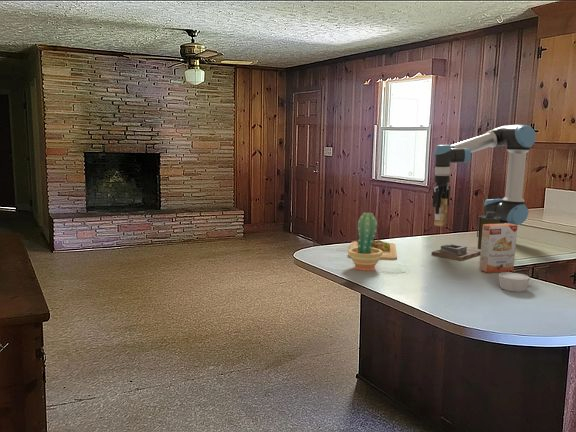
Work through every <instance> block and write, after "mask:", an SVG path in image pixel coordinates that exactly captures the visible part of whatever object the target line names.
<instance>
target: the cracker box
mask: <svg viewBox="0 0 576 432" xmlns="http://www.w3.org/2000/svg"><path fill="white" fill-rule="evenodd" d="M517 235H518V225H514V224H510V223H505V224H483V229H482V241H481V254H480V255H479V256H480V257H479V267H478V268H479V271H481V272H484V273H490V274H491V273H507V272H514V269H515V258H516V257H515V256H516V247H517Z"/></svg>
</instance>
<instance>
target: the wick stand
mask: <svg viewBox="0 0 576 432" xmlns="http://www.w3.org/2000/svg"><path fill="white" fill-rule="evenodd" d="M480 254H481V249H477V248H475V247H470V246H466V245H464V246H463V245H459V244H453V243H449V244H444V245H441V246H440V249H436V250H433V251H431V256H437V257H442V258H447V259H452V260H457V261H464V260H467V259H470V258H473V257H477V256H480Z"/></svg>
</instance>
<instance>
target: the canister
mask: <svg viewBox="0 0 576 432" xmlns="http://www.w3.org/2000/svg"><path fill="white" fill-rule="evenodd" d="M494 213H495V212H486V216H483V215H478V216H477V228H476V237H477V238H478V240H477V248H476V249H481V241H482V229H483V224H500V219H501V218H500V217H497V216H494ZM495 214H496V213H495Z"/></svg>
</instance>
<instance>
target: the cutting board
mask: <svg viewBox="0 0 576 432" xmlns="http://www.w3.org/2000/svg"><path fill="white" fill-rule="evenodd" d="M358 243H359V239H358V240H355V241H354V240H353V241H351V243H350V247H349V249H351V248H356V247H358ZM371 248H376V249H380V250H382V251H383V253H382V255H381V256H380V258H379V260H382V261H383V260H386V261H394V260H397V259H398V256H397V255H398V253H397V246H396V243H394V242H385V241H382V240H380V239H378V240H374V239H373V243H372V247H371ZM347 257H348V258H350V259H352V258H351V255H350V254H349V253H348V255H347Z"/></svg>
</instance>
